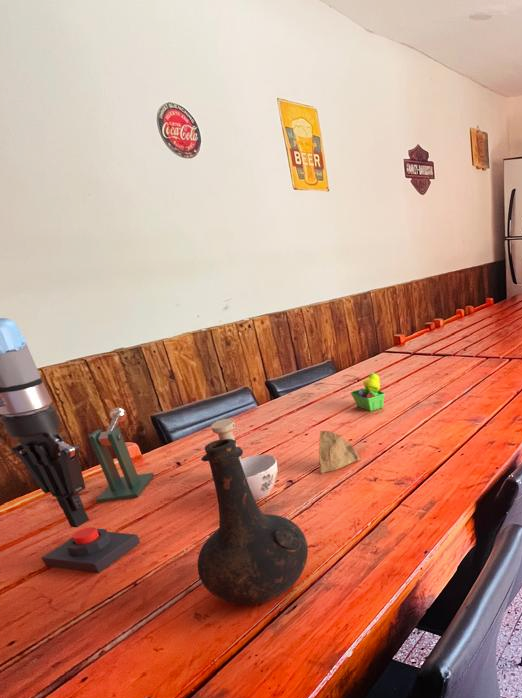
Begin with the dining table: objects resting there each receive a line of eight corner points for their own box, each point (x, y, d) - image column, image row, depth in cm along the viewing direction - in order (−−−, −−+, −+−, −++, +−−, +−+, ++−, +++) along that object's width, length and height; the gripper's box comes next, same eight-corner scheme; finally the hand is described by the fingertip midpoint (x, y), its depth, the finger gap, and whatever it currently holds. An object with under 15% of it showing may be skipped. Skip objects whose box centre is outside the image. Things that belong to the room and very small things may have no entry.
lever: (115, 417, 132) (109, 405, 130) (131, 415, 133) (124, 404, 130) (100, 449, 123) (93, 437, 120) (116, 447, 123) (109, 435, 121)
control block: (45, 566, 100) (36, 549, 99) (90, 537, 109) (83, 522, 107) (98, 573, 98) (90, 556, 96) (140, 543, 106) (134, 527, 105)
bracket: (117, 481, 133) (94, 425, 126) (154, 476, 135) (133, 420, 128) (97, 504, 123) (70, 444, 116) (138, 498, 124) (114, 438, 118)
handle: (224, 483, 129) (207, 429, 122) (233, 472, 135) (217, 419, 128) (243, 482, 129) (228, 427, 123) (251, 470, 135) (236, 418, 128)
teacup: (244, 482, 129) (235, 454, 125) (292, 482, 128) (285, 453, 125) (212, 514, 116) (202, 483, 112) (265, 513, 115) (257, 482, 111)
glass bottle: (283, 625, 82) (238, 471, 70) (185, 616, 85) (126, 467, 73) (331, 558, 98) (301, 423, 86) (247, 553, 101) (206, 421, 89)
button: (70, 544, 101) (66, 537, 100) (88, 533, 104) (85, 526, 103) (86, 546, 100) (83, 539, 99) (104, 535, 103) (101, 527, 102)
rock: (361, 445, 141) (324, 444, 140) (359, 429, 133) (319, 427, 132) (358, 481, 136) (319, 479, 135) (355, 466, 128) (314, 465, 127)
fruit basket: (351, 406, 178) (346, 374, 173) (373, 399, 184) (368, 369, 179) (369, 413, 171) (364, 380, 166) (391, 406, 176) (386, 374, 171)
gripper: (-25, 416, 88) (35, 531, 98) (34, 418, 85) (89, 536, 95) (19, 402, 94) (71, 511, 105) (75, 403, 92) (123, 515, 102)
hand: (80, 523), depth 100 cm, fingers closed
